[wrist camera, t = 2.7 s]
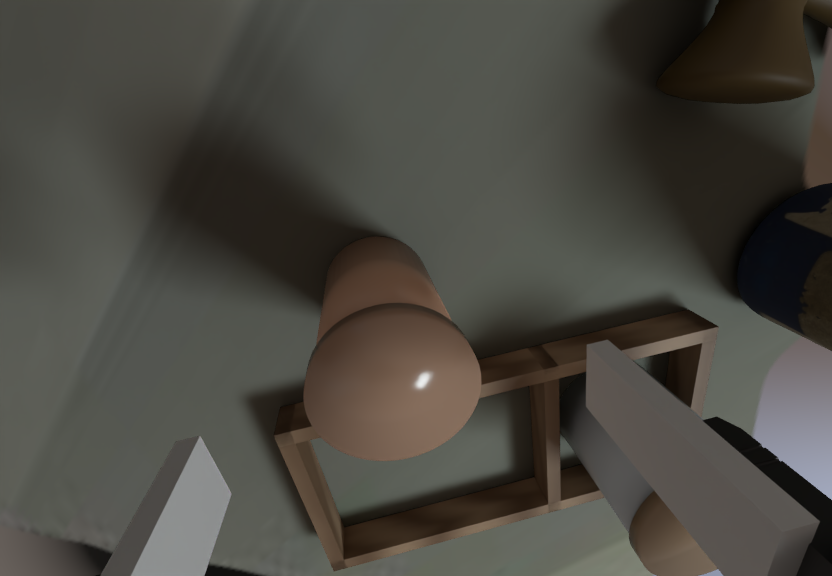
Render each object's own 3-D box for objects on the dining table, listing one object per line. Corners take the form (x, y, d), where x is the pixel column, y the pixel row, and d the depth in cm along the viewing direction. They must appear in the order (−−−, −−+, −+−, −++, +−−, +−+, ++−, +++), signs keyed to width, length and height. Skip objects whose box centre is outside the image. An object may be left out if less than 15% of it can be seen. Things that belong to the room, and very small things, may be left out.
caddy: (335, 538, 31) (334, 571, 29) (280, 407, 25) (273, 435, 23) (666, 449, 33) (690, 474, 31) (688, 309, 27) (718, 326, 25)
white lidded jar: (553, 457, 31) (635, 594, 22) (551, 373, 28) (648, 496, 19) (651, 431, 32) (769, 554, 23) (661, 346, 28) (807, 452, 19)
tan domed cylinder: (337, 342, 24) (330, 477, 15) (308, 246, 21) (278, 341, 12) (437, 319, 24) (488, 437, 15) (421, 222, 22) (471, 297, 13)
